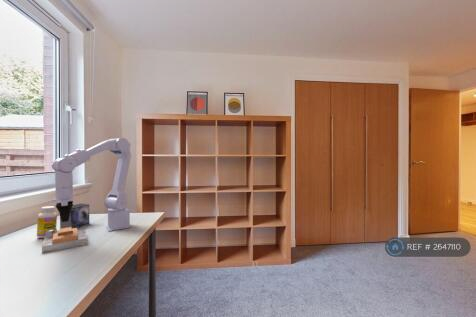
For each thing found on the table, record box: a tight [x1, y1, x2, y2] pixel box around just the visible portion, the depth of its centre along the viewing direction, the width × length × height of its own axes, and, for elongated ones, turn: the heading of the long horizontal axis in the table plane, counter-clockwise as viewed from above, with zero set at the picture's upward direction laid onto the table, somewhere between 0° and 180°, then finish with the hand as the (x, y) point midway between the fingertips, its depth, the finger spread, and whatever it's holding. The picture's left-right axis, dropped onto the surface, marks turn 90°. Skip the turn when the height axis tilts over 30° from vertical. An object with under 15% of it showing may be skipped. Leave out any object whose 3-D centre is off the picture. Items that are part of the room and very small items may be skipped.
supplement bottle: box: [36, 205, 58, 239], centre depth 104 cm, size 7×7×13 cm
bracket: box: [52, 227, 78, 244], centre depth 99 cm, size 8×18×2 cm, turn 36°
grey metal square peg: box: [59, 211, 71, 230], centre depth 96 cm, size 4×4×8 cm
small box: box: [71, 203, 90, 229], centre depth 119 cm, size 11×6×10 cm, turn 162°
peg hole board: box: [41, 228, 88, 254], centre depth 96 cm, size 14×14×5 cm
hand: (65, 220), depth 96 cm, fingers closed on grey metal square peg, 3 cm apart
